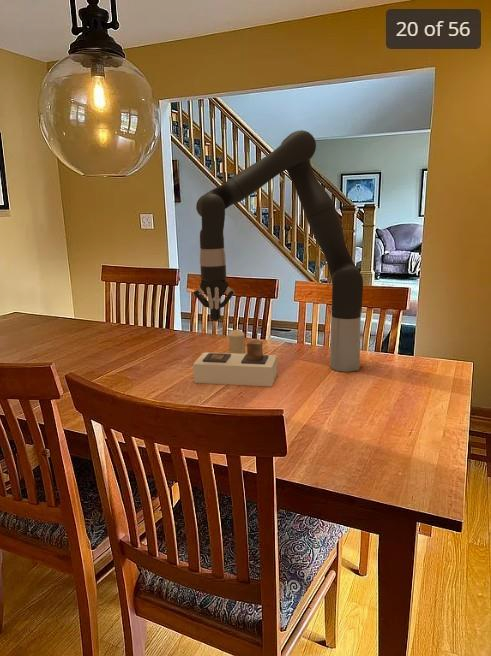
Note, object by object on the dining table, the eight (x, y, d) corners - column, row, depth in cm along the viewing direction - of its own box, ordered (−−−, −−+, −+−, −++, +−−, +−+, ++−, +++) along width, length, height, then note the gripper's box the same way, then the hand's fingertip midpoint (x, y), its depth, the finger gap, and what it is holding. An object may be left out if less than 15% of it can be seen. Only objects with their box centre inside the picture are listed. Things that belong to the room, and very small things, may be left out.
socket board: (277, 372, 157) (277, 353, 155) (271, 386, 146) (271, 365, 144) (204, 369, 162) (203, 350, 160) (193, 382, 150) (192, 362, 149)
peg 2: (262, 361, 153) (262, 340, 151) (260, 365, 149) (260, 344, 147) (249, 360, 154) (249, 340, 152) (247, 364, 150) (247, 343, 148)
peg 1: (225, 375, 156) (224, 355, 155) (222, 379, 153) (221, 358, 151) (213, 374, 157) (212, 354, 155) (210, 378, 153) (209, 358, 152)
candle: (243, 360, 170) (242, 332, 168) (227, 359, 171) (227, 332, 169) (246, 355, 175) (245, 328, 173) (231, 355, 177) (230, 328, 174)
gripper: (237, 262, 148) (239, 318, 152) (195, 262, 151) (198, 317, 155) (232, 265, 141) (234, 323, 145) (187, 265, 144) (191, 323, 148)
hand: (215, 320), depth 150 cm, fingers closed
